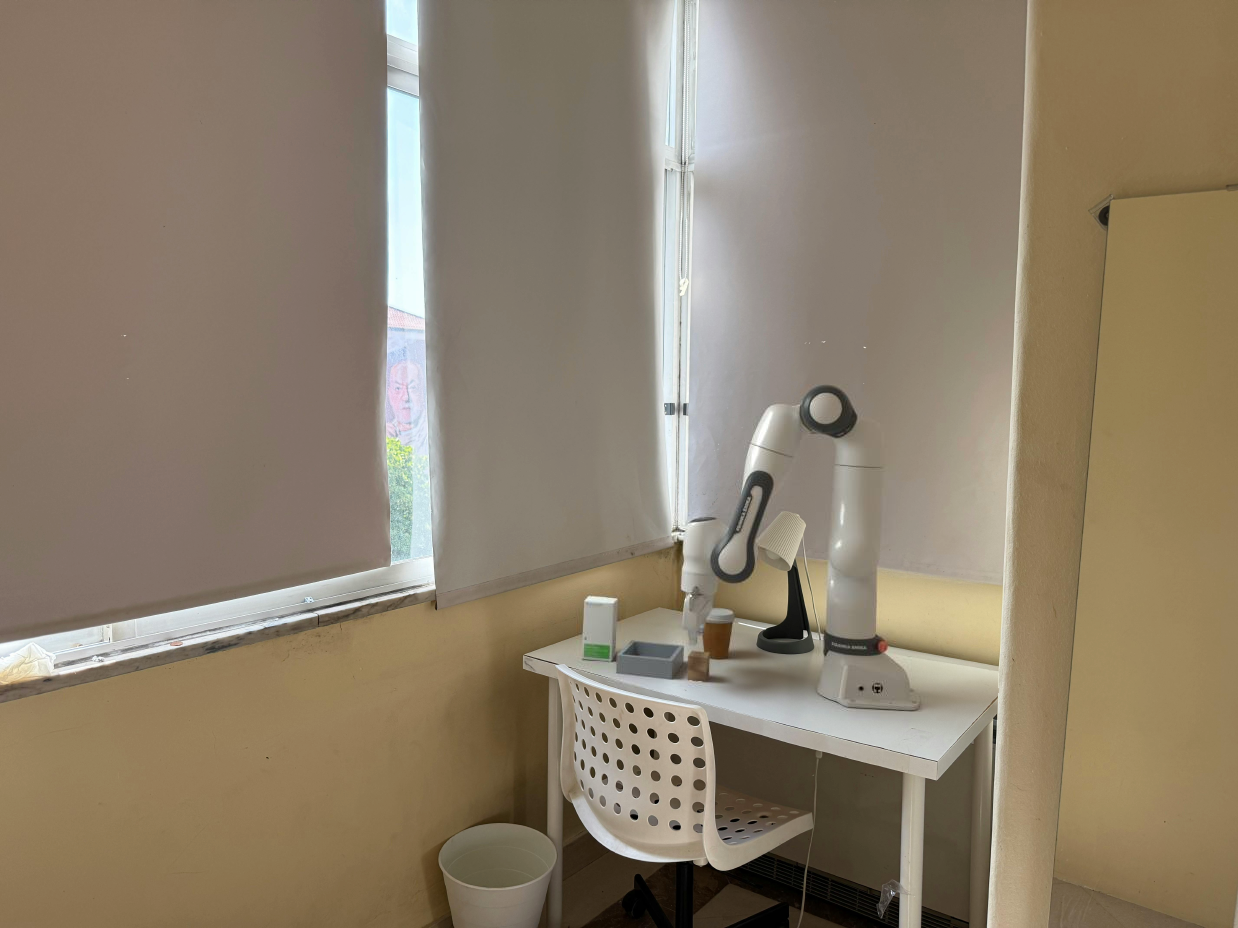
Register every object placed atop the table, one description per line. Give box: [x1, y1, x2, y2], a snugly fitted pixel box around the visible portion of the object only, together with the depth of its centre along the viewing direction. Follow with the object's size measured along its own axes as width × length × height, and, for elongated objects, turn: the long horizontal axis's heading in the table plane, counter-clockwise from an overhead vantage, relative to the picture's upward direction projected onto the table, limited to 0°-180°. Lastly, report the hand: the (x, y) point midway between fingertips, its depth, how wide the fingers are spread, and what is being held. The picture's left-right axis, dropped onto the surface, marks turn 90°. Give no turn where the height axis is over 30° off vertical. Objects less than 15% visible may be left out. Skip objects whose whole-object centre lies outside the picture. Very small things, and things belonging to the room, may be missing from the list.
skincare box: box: [581, 595, 619, 663], centre depth 200 cm, size 8×7×16 cm
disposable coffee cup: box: [701, 607, 736, 660], centre depth 203 cm, size 10×10×12 cm
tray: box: [615, 639, 685, 680], centre depth 192 cm, size 14×14×4 cm
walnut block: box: [687, 650, 711, 683], centre depth 184 cm, size 4×4×6 cm
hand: (696, 639), depth 184 cm, fingers open, 8 cm apart
